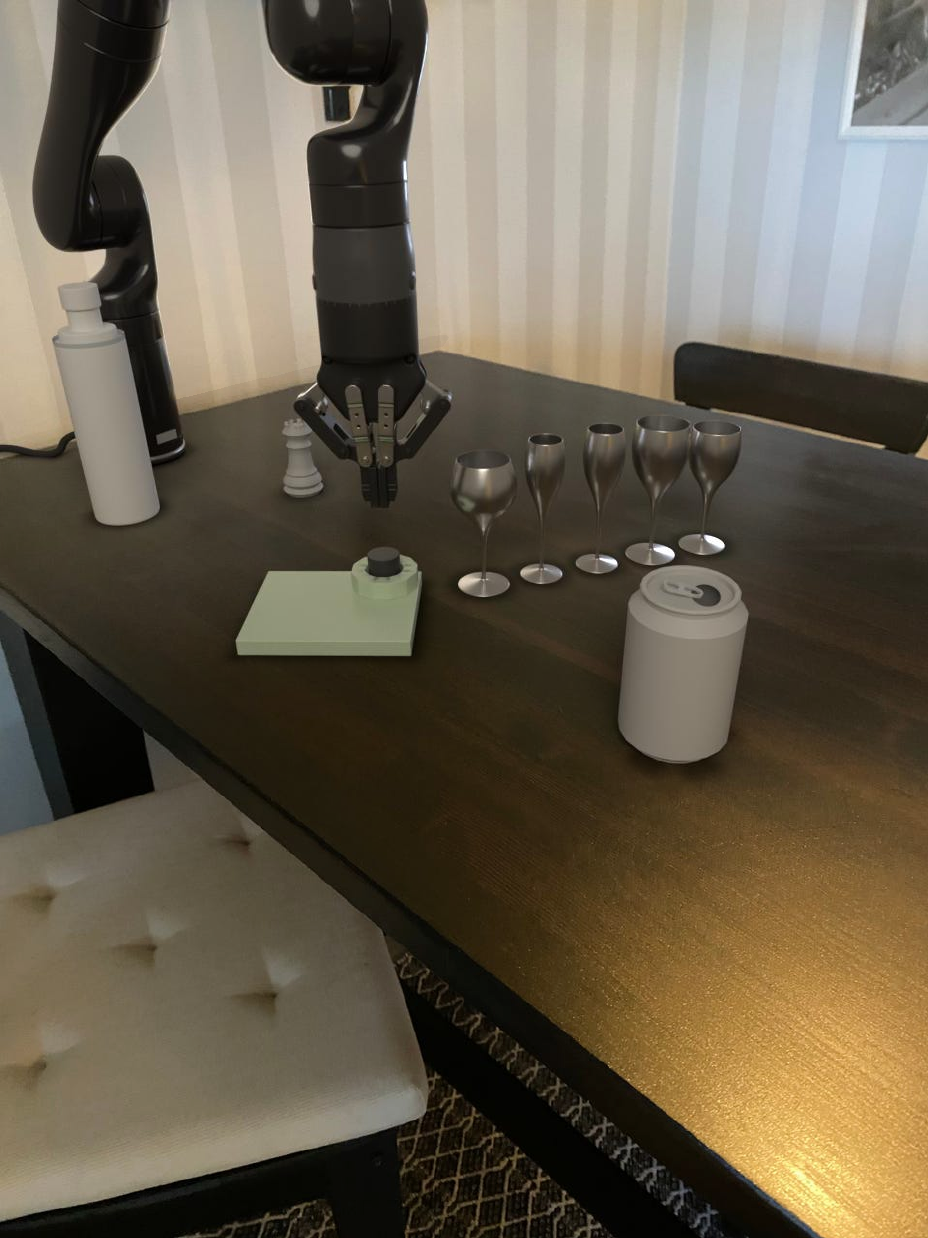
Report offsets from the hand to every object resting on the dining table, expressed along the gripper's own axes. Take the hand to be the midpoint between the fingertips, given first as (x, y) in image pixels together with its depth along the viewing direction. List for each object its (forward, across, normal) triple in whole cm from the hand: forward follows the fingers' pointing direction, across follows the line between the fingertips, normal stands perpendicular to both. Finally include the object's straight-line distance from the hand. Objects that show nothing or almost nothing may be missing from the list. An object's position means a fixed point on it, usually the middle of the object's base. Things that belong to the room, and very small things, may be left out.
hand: (380, 504), depth 76 cm
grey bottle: (+9, +30, -18) cm, 36 cm away
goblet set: (+9, -19, -6) cm, 22 cm away
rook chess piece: (+9, +12, -24) cm, 29 cm away
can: (+9, -22, +20) cm, 31 cm away
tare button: (+6, 0, 0) cm, 6 cm away
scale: (+9, +4, +4) cm, 10 cm away
